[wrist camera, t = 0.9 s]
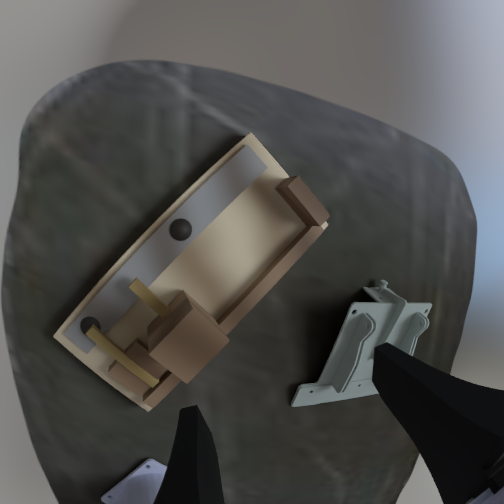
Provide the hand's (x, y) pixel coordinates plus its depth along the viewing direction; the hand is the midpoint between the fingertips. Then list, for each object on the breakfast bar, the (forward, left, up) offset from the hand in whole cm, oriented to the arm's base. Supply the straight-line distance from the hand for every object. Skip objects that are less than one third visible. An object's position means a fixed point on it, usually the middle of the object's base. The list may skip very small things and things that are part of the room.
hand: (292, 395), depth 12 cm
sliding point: (-3, +2, -14) cm, 14 cm away
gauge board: (0, +2, -15) cm, 15 cm away
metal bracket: (+7, -16, -16) cm, 23 cm away
